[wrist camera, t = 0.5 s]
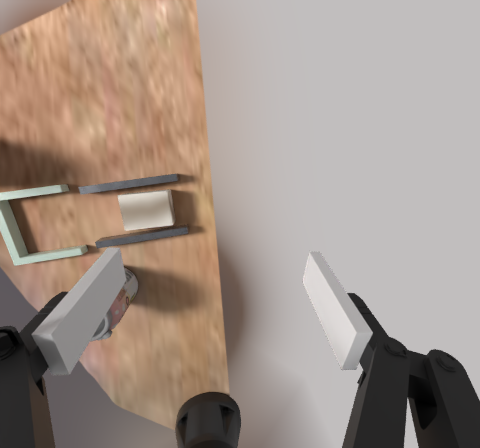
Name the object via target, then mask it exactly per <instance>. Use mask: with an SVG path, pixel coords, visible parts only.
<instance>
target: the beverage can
mask: <svg viewBox="0 0 480 448" xmlns="http://www.w3.org/2000/svg"><path fill="white" fill-rule="evenodd" d="M124 270H125V275H126V282H125V283H124V285H123V287H122V288H121V290H120V292H119V293H118V295H117V297H116V298H115V300H114V302H113V303H112V305H111V307H110V308H109V310H108V312H107V313H106V315H105V317H104V318H103V320H102V322H101V323H100V325H99V327H98V328H97V330H96V332H95V333H94V335H93V337H92V338H91V340H90V342H91V341H94V340H102V339H107V338H109V337H110V336H111V334H112V331H111V330H112V329H113V328H115V326H116V325H117V324H118V323H119V322H120V320H121V318H122V317H123V315H124V313H125V312H126V310H127V308H128V307H129V305H130V304H131V302H132V300H133V299H134V297H135V295H136V293H137V290H138V281H137V279H136V276H135V275H134V274H133V273H132V272H131V271H130V270H128V269H127V268H124Z"/></svg>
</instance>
